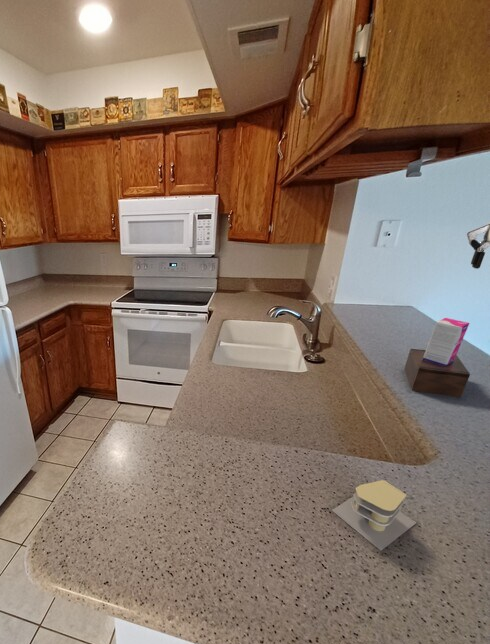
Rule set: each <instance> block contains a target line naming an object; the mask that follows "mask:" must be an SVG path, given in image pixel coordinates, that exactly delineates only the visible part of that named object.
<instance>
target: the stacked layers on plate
mask: <svg viewBox="0 0 490 644" xmlns="http://www.w3.org/2000/svg"><path fill="white" fill-rule="evenodd" d="M406 497H407V494H406V493H405V492H404V491H402V490H400V489H398V488H397V487H395V486H394V485H392V484H391V483H389V482H387V481H386V480H384V479H381V480H377V481H376V480H375V481H372V482H367V483H363V484H359V485H358V486H357V487H356V486H355V492H353V496H351V497H350V498H349V499H347V500H345V501H344V502H342V503H341V504H338V505H337V506H336V507H334V508H333V509H331V511H332V513H334V514H335V515H336V516H338V517H339V518H340V519H341V520H342V521H343V522H345V523H346V524H347V525H349V526H350V527H351V528H352V529H353V530H355V531H356V532H357V533H359V534H360V535H361V536H362V537H364V539H366V540H367V542H369V543H371V544H372V545H373V546H375V548H377V549H378V550H379V551H383V550H385V548H387V547H388V546H389V545H390V544H392V543H393V542H394V541H396V540H397V539H398V538H400V537H401V536H402V535H403V534H404V533H406V532H407V531H408V530H410V529H411V528H412V527H414V526H415V525H416V524H417V521H415V520H413V518H411V517H409V516H408V515H406V514H405V513H403V512H402V511H401V510H402V508H401V507H402V505H403V504H404V503H405V498H406Z"/></svg>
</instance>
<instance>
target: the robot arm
mask: <svg viewBox="0 0 490 644" xmlns="http://www.w3.org/2000/svg"><path fill="white" fill-rule="evenodd" d="M483 233H484V234H483ZM481 234H483V240H482V241H480V242H479V241H478V240H477V236H478V235H481ZM466 236H467V240H468V244H469V245H470V246H471V247H472V248H473V250H474V252H473V256H472V259H471V261H470V265H471V267H472V268H473V269H476V270H477V269H480V268H481V265H482V263H483V260H484V257H485V255H486V252H485V250H486V249H487V248H490V221H489V222H488V224H486V225H483V226H481V227H478V228H476V229H473V230H469V231H468V232H467V233H466Z"/></svg>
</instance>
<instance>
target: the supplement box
mask: <svg viewBox="0 0 490 644" xmlns="http://www.w3.org/2000/svg"><path fill="white" fill-rule="evenodd" d="M469 326H470V322H467V321H462V320H457V319H453V318H448V317H444V318H442V319H440V320H438V321H436V322H435V324H434V328H433V330H432V333H431V335H430V338H429V341H428V344H427V345H426V349H425V350H426V351H425V354H424V357H423V360H426V361H429V362H433V363H436V364H439V365H443V366H446V365H447V364H449V363H450V362H452V361H454V359H455V356H456V355H457V354H458V351H459V349H460V347H461V344H462V343H463V340H464V337H465V335H466V333H467V330H468V328H469Z"/></svg>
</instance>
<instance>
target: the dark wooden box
mask: <svg viewBox="0 0 490 644" xmlns="http://www.w3.org/2000/svg"><path fill="white" fill-rule="evenodd" d="M425 351H426V349H417V348H410V349H409V353H408V355H407V359H406V361H405V366H404V369H403V370H404V374H405V377H406V378H407V381H408V384H409V387H410V389H411V391H414V392H421V393H428V394H434V395H441V396H448V397H456V398H461V397H462V395H463V393H464V391H465V388H466V386H467V383H468V381H469V378H470V376H471V373H470V371H469V370H468V369H467V367H466V366H465V365H464V363H463V362H462V360H461V359H460V357H459V356H458V355H457V354H456V356H455V359H454V361H452V362H450V363H449V364H447V365H446V366H443V365H439V364H436V363H433V362H429V361H426V360H423V357H424V354H425Z"/></svg>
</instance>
